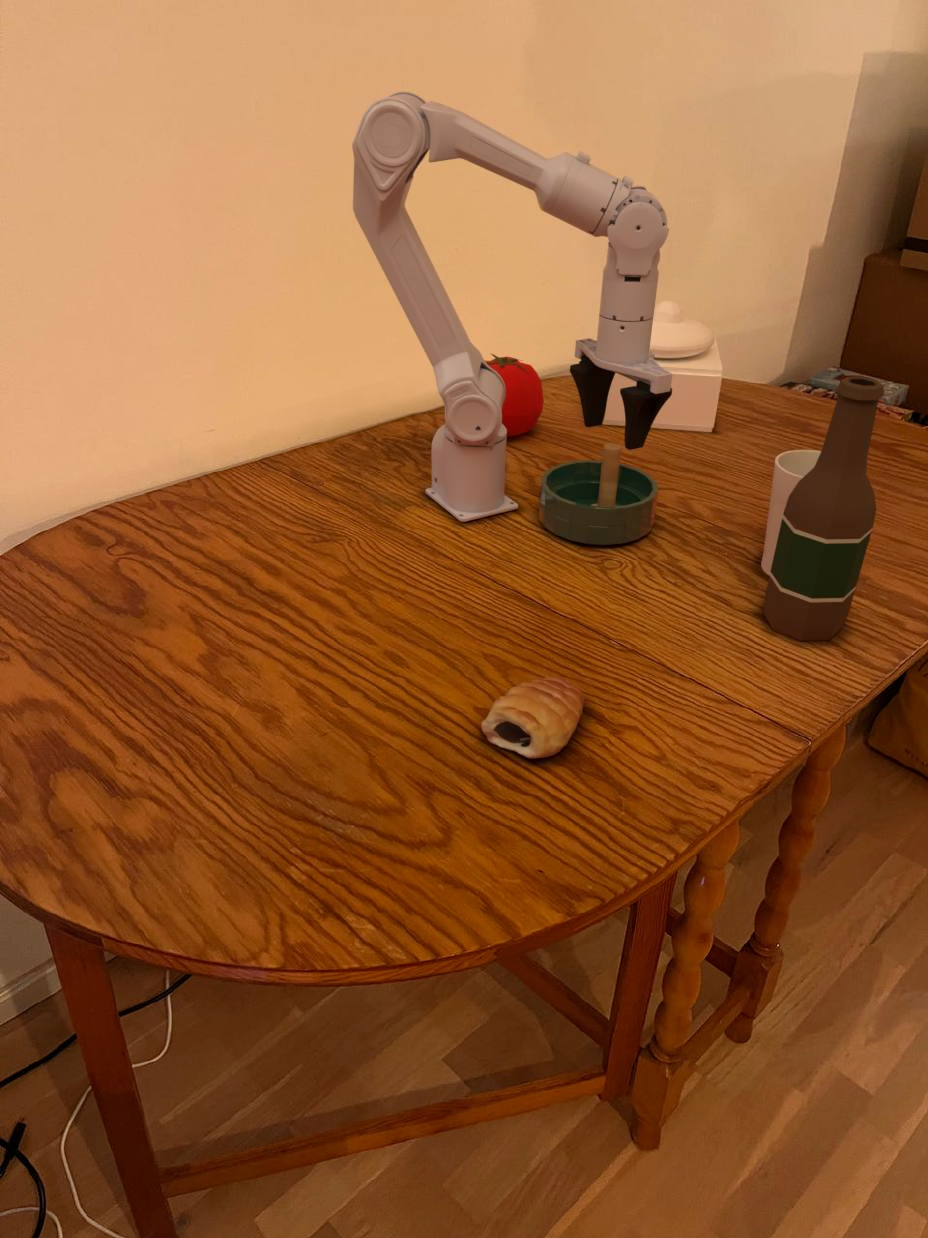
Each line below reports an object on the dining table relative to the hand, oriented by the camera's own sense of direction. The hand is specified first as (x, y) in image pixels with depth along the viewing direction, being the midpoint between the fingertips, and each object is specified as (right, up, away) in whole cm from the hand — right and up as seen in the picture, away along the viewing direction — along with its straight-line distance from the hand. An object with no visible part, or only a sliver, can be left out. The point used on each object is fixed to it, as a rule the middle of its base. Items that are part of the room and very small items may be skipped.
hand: (613, 436), depth 104 cm
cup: (+18, -16, -6) cm, 25 cm away
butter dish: (+12, +11, +36) cm, 39 cm away
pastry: (-11, -30, -29) cm, 43 cm away
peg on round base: (-1, -9, +2) cm, 9 cm away
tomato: (-12, +6, +26) cm, 30 cm away
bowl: (-2, -10, +2) cm, 10 cm away
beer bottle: (+16, -21, -15) cm, 31 cm away
